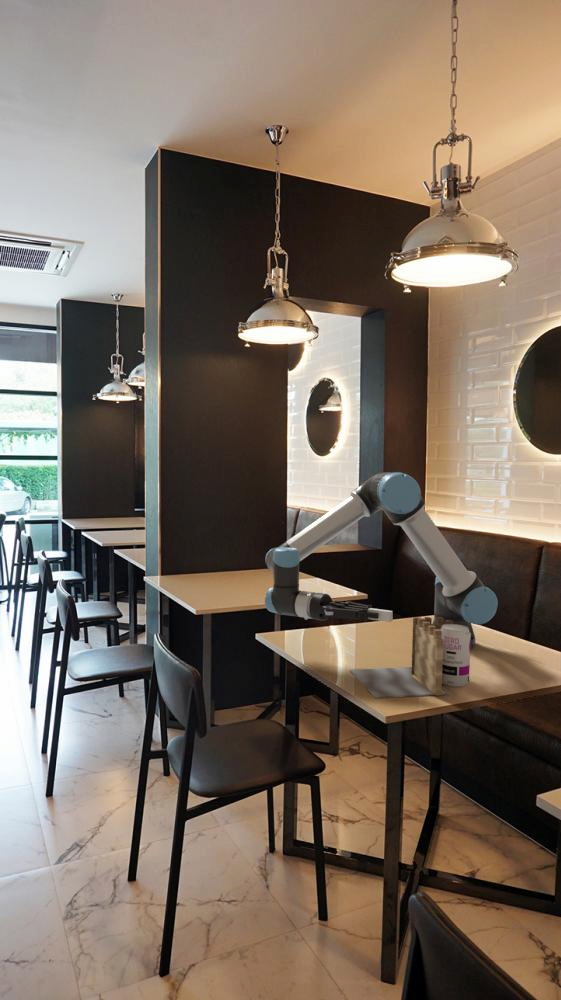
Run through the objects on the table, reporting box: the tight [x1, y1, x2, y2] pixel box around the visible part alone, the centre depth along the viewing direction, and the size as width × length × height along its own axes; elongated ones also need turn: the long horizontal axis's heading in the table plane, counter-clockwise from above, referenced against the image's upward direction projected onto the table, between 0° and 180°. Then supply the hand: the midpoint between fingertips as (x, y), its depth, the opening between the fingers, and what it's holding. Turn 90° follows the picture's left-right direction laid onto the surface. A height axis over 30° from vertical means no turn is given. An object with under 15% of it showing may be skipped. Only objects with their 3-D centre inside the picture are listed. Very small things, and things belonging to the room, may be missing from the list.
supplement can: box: [440, 624, 471, 688], centre depth 179 cm, size 8×8×15 cm
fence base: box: [349, 616, 453, 699], centre depth 179 cm, size 28×22×16 cm
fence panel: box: [414, 617, 443, 696], centre depth 175 cm, size 16×2×16 cm, turn 8°
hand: (391, 616), depth 176 cm, fingers closed
